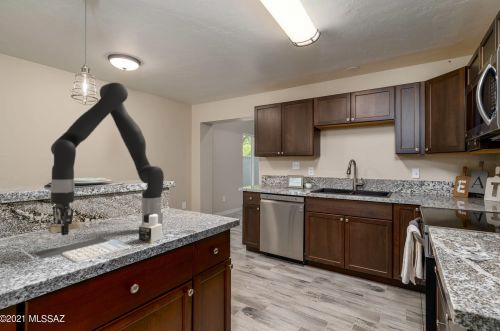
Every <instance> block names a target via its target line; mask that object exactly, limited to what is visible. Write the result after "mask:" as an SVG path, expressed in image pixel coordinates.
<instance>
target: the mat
mask: <svg viewBox="0 0 500 331" xmlns="http://www.w3.org/2000/svg"><path fill="white" fill-rule="evenodd" d="M107 241H110V240H109V239H106V238H104V237H97V238H93V239H88V240H85V241H80V242H75V243H71V244H67V245H62V246H58V247H55V248H51V249H50V248H49V249H45V250H41V251H38V252H33V254H34V255H36V256H38V258H40V259H46V258H50V257H55V256H58V255H62V253H63V252H66V251H71V250H75V249H79V248H83V247H87V246H91V245H95V244H99V243H103V242H107Z"/></svg>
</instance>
